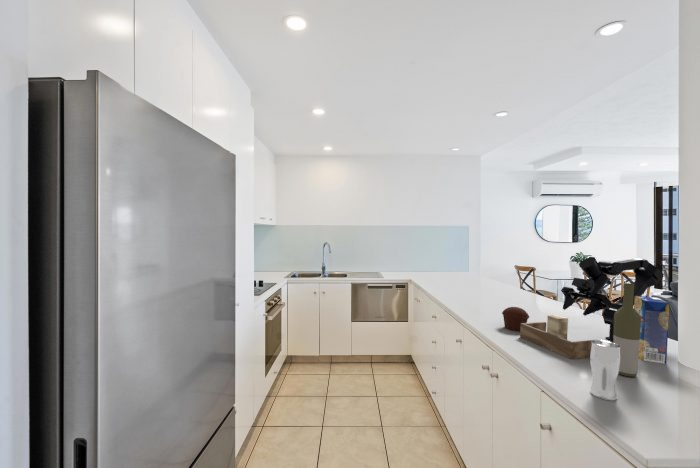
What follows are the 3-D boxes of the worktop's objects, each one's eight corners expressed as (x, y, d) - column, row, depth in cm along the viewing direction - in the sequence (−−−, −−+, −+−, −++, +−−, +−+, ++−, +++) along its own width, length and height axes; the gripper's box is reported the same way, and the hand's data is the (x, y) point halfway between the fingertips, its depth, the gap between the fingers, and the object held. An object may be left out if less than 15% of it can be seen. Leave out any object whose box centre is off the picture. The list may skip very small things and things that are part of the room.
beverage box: (654, 353, 131) (657, 297, 130) (666, 364, 121) (669, 303, 120) (632, 350, 134) (634, 295, 133) (642, 360, 124) (645, 300, 123)
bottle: (640, 380, 107) (645, 286, 106) (612, 374, 111) (616, 284, 110) (636, 372, 113) (640, 283, 112) (610, 367, 117) (613, 281, 116)
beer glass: (582, 389, 100) (584, 339, 100) (604, 389, 100) (606, 339, 100) (601, 401, 93) (604, 348, 93) (625, 401, 94) (627, 347, 93)
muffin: (530, 328, 161) (530, 307, 161) (527, 334, 152) (528, 312, 151) (503, 323, 167) (503, 303, 167) (499, 329, 158) (500, 308, 158)
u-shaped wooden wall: (543, 335, 151) (544, 321, 151) (598, 356, 127) (599, 340, 127) (520, 337, 147) (520, 323, 147) (571, 359, 123) (572, 343, 123)
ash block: (556, 343, 140) (557, 314, 140) (566, 347, 135) (568, 318, 135) (546, 344, 139) (547, 315, 138) (556, 348, 134) (558, 318, 134)
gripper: (565, 268, 149) (544, 294, 146) (607, 274, 131) (584, 304, 128) (578, 285, 151) (557, 311, 149) (621, 294, 133) (599, 323, 131)
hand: (573, 311), depth 139 cm, fingers open, 9 cm apart
